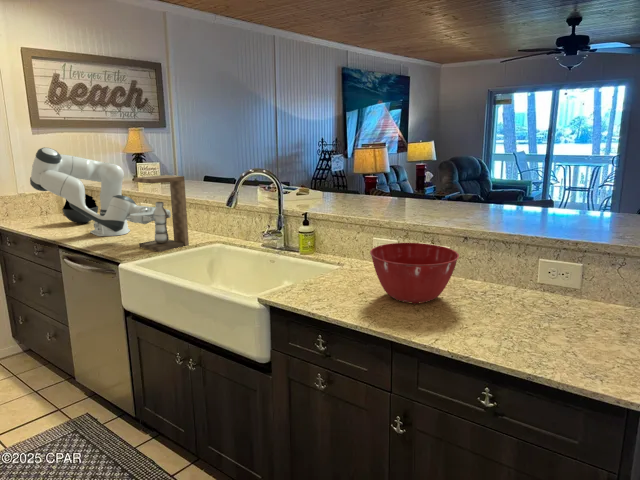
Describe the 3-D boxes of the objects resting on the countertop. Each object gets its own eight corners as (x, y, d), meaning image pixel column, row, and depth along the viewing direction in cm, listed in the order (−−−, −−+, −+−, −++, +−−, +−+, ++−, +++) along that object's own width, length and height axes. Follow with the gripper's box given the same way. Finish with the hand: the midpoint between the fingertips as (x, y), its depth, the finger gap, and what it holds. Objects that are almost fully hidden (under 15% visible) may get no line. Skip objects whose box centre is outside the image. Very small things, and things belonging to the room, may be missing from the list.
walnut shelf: (137, 247, 237) (131, 177, 230) (169, 241, 251) (164, 174, 244) (157, 252, 227) (151, 179, 220) (188, 245, 241) (184, 176, 234)
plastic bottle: (171, 242, 239) (169, 201, 235) (163, 245, 233) (161, 203, 229) (160, 241, 241) (157, 201, 237) (152, 244, 235) (149, 202, 231)
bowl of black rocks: (62, 222, 308) (58, 192, 304) (96, 219, 318) (93, 190, 314) (66, 227, 291) (62, 196, 287) (102, 223, 302) (99, 193, 298)
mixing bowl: (469, 310, 150) (472, 261, 146) (378, 313, 148) (379, 264, 144) (440, 283, 177) (442, 241, 174) (363, 285, 175) (363, 243, 172)
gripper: (123, 211, 235) (140, 213, 227) (160, 206, 251) (176, 208, 242) (124, 224, 236) (141, 227, 228) (161, 218, 252) (177, 221, 244)
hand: (159, 217), depth 235 cm, fingers open, 8 cm apart
